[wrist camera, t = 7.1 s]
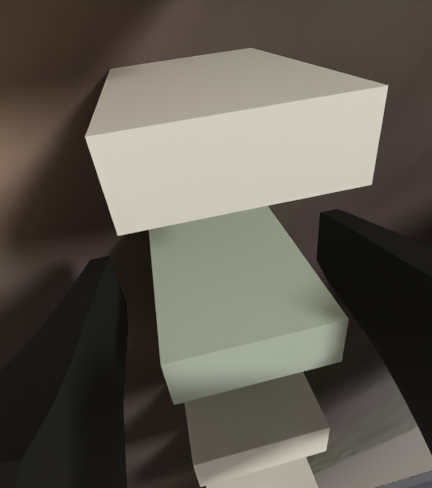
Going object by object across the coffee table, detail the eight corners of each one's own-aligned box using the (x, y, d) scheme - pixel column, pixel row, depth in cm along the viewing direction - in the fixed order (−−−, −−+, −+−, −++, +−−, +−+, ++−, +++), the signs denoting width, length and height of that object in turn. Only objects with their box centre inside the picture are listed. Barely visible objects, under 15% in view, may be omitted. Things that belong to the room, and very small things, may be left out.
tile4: (170, 305, 16) (193, 466, 10) (260, 284, 16) (329, 427, 11) (176, 328, 17) (200, 487, 11) (261, 308, 17) (326, 450, 12)
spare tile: (147, 212, 13) (160, 365, 7) (257, 191, 14) (348, 319, 8) (155, 246, 14) (173, 405, 8) (258, 225, 14) (341, 361, 9)
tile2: (110, 69, 10) (85, 136, 5) (251, 48, 11) (388, 85, 5) (124, 123, 11) (117, 235, 5) (253, 101, 12) (371, 184, 6)
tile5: (187, 369, 19) (211, 522, 13) (263, 350, 19) (319, 490, 14) (191, 386, 20) (216, 535, 14) (264, 367, 20) (316, 505, 15)
